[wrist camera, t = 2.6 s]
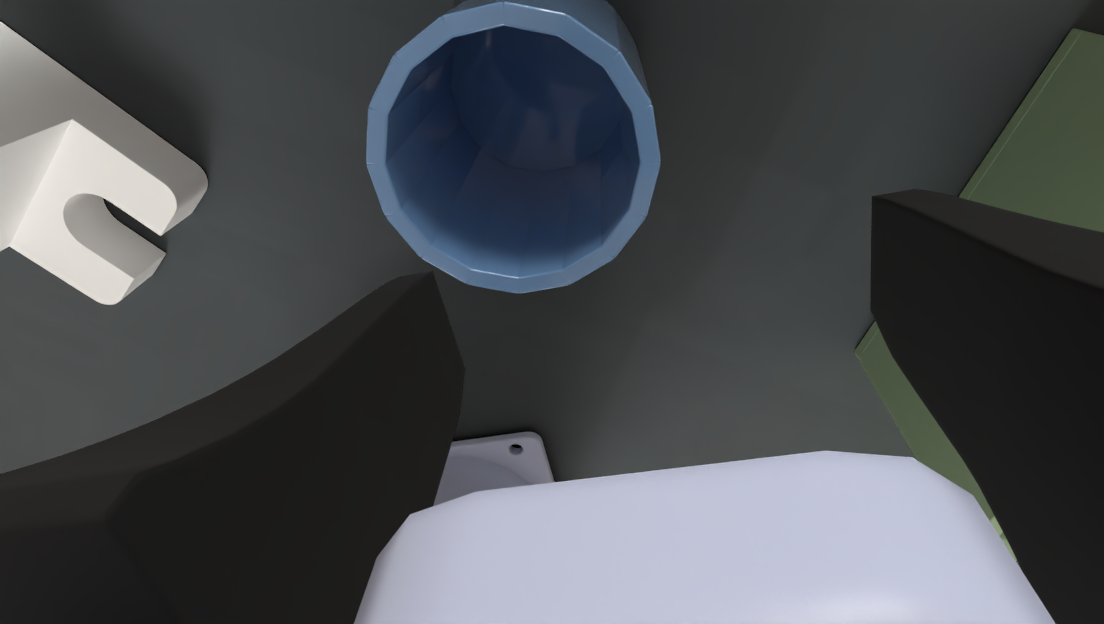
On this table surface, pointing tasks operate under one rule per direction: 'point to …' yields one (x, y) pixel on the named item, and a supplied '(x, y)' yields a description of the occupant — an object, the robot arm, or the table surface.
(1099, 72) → the bin
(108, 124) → the cable organizer
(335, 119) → the table surface
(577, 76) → the cup
